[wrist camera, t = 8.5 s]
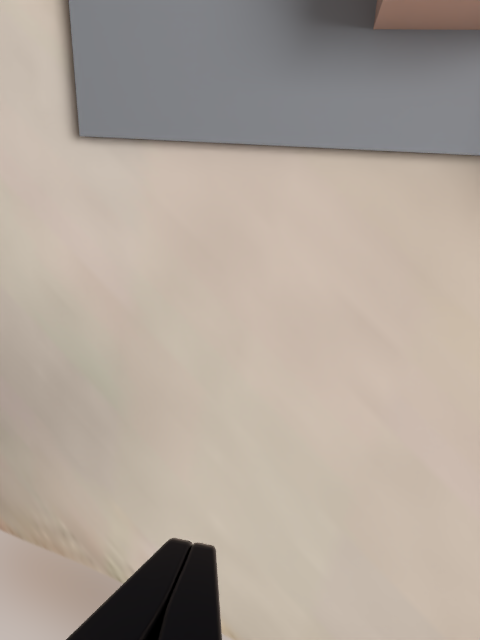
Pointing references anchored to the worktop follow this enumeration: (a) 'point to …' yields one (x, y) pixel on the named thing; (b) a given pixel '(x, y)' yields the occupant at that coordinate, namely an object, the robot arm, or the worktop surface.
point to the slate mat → (273, 75)
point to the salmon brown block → (428, 14)
